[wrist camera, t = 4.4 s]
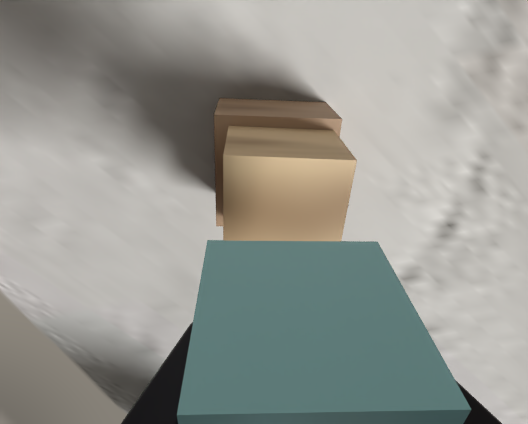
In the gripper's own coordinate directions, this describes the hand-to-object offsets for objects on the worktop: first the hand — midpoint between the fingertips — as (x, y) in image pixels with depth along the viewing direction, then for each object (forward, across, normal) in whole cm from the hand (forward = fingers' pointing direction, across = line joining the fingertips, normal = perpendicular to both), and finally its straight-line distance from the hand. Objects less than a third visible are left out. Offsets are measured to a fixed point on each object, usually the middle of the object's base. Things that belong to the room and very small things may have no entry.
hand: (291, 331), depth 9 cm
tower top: (+10, 0, 0) cm, 10 cm away
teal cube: (+1, 0, 0) cm, 1 cm away
